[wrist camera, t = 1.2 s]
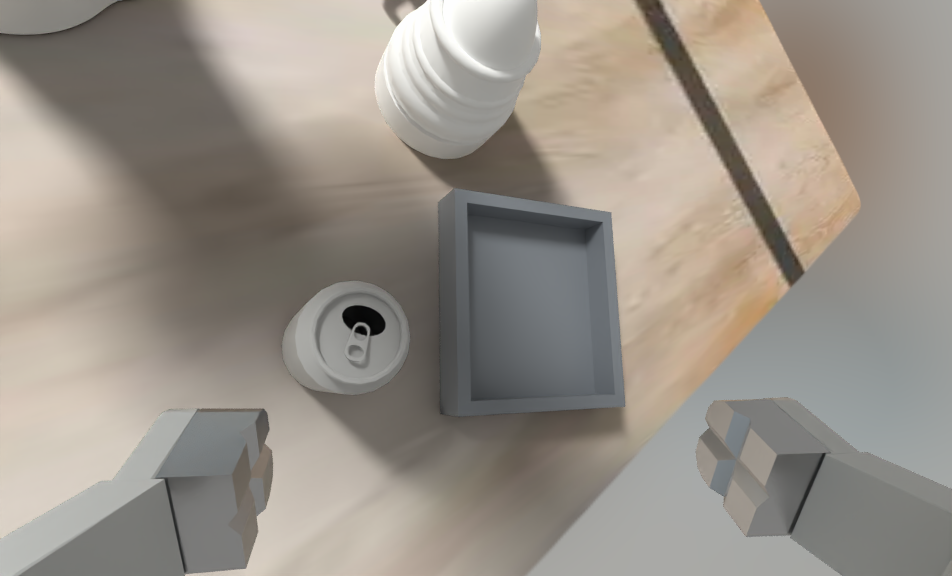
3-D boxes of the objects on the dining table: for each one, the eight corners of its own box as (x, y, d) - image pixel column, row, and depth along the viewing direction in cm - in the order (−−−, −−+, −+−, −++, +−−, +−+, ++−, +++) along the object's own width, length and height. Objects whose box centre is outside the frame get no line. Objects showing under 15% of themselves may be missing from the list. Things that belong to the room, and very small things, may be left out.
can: (383, 319, 44) (432, 299, 34) (356, 403, 42) (398, 410, 31) (299, 289, 41) (323, 257, 31) (265, 377, 39) (278, 375, 29)
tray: (438, 202, 48) (454, 188, 45) (587, 223, 56) (611, 212, 53) (440, 413, 45) (458, 416, 41) (598, 404, 53) (625, 406, 49)
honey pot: (408, 14, 51) (489, -155, 35) (509, 90, 55) (624, -30, 39) (351, 108, 46) (414, -36, 30) (466, 183, 50) (575, 91, 34)
